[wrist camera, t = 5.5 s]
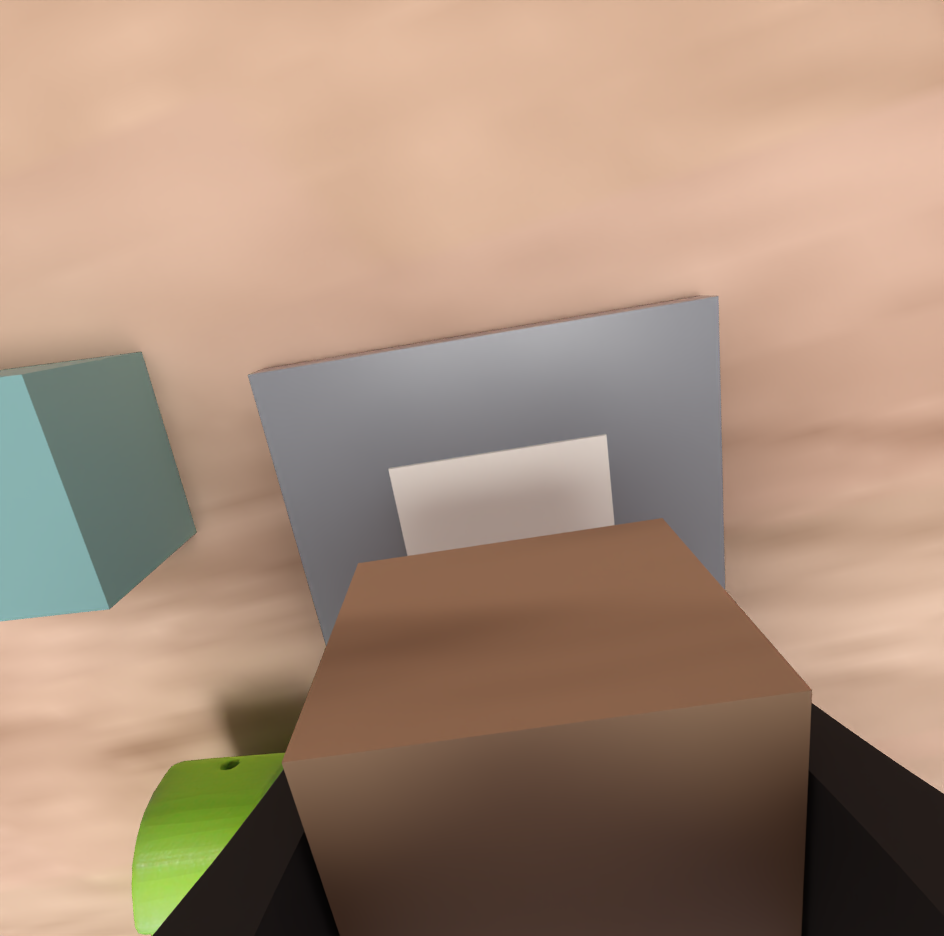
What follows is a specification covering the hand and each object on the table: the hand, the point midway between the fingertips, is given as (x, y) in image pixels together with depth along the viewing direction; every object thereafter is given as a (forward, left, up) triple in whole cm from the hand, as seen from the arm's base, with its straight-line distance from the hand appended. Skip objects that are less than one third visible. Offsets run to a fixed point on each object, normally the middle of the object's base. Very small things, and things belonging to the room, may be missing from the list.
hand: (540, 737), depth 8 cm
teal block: (+4, +11, -8) cm, 14 cm away
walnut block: (0, 0, -2) cm, 2 cm away
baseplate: (0, 0, -7) cm, 7 cm away
